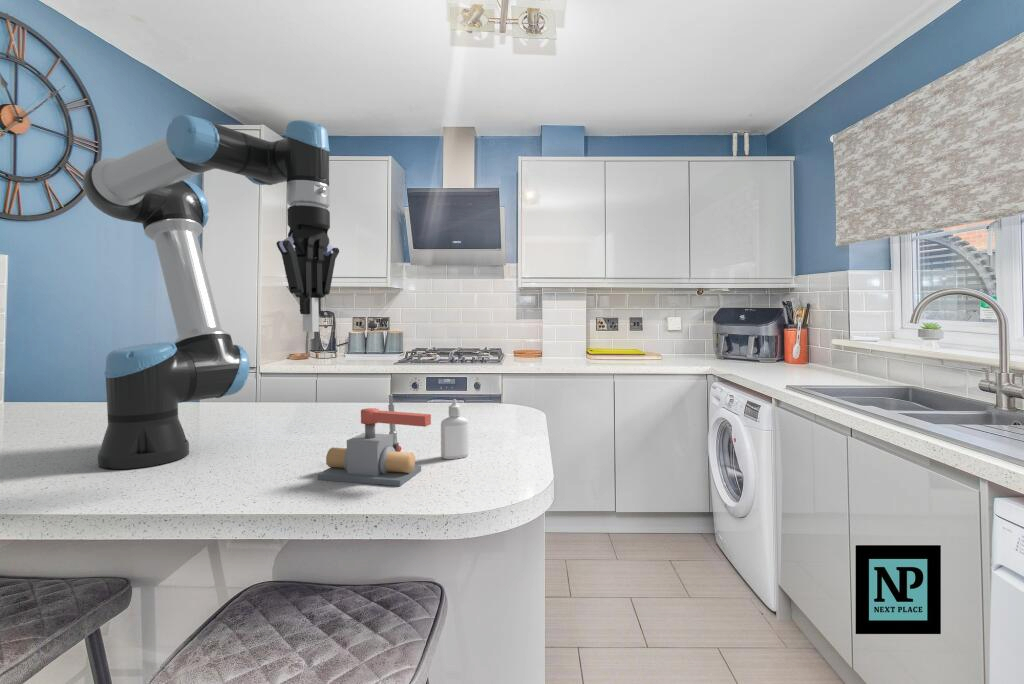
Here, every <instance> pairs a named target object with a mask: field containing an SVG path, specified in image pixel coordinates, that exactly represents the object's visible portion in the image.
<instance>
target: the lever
mask: <svg viewBox="0 0 1024 684" xmlns="http://www.w3.org/2000/svg"><path fill="white" fill-rule="evenodd" d="M360 424H362V425H365V424H375V425H376V424H395V425H402V426H414V427H415V426H416V427H428V426H430V425H432V415H431V414H429V413H418V412H407V411H406V412H402V411H394V412H393V411H389V410H380V408H376V407H375V408H374V407H371V408H370V407H369V408H362V409H361V410H360Z"/></svg>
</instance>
